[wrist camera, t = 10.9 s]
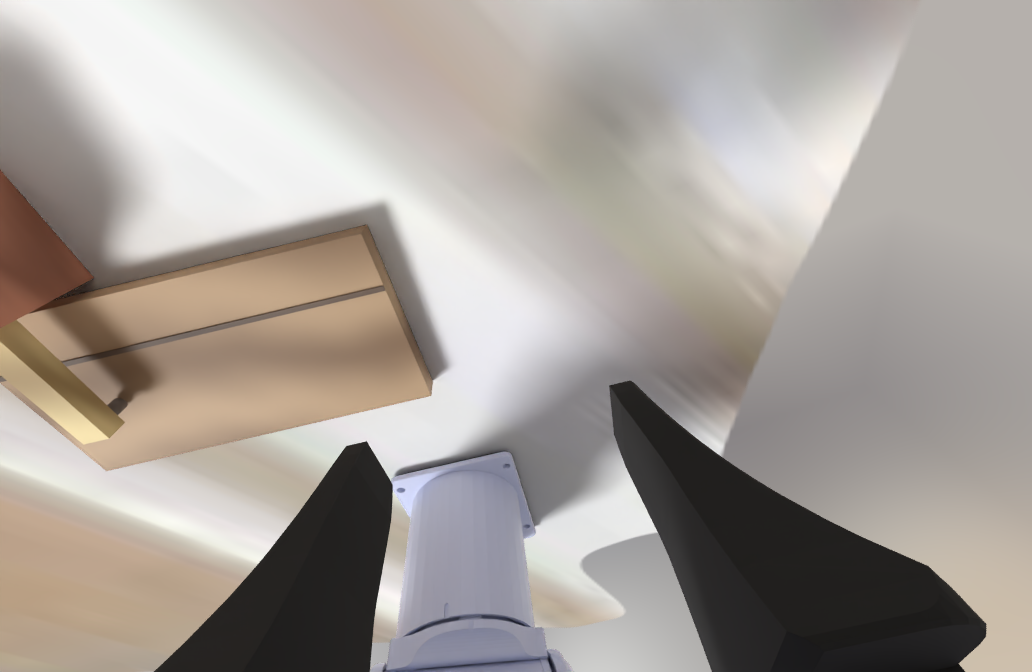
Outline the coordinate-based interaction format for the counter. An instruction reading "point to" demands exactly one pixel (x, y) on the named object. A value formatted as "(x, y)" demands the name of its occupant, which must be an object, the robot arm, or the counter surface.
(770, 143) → the counter surface
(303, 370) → the board
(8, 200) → the brown block with stick
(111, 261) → the counter surface
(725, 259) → the counter surface
